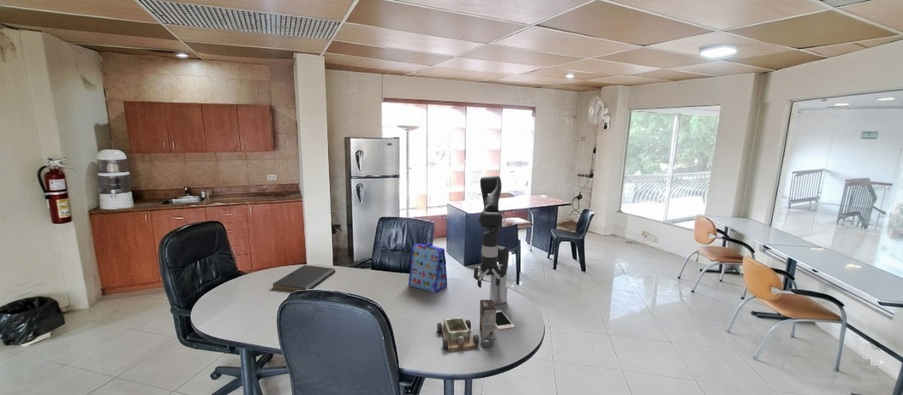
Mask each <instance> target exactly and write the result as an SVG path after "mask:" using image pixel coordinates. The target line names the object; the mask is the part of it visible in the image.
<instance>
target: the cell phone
mask: <svg viewBox="0 0 903 395" xmlns="http://www.w3.org/2000/svg"><path fill="white" fill-rule="evenodd" d="M495 328H497V330H500V331H501V330H507V329H509V330H510V329H514V328H516V327H515V325H514V324H513V322H512V321H511V320H510V318H508V317H507V315H506V314H505V313H504V312H503V311H502V310H501V309H500V310H496V324H495Z"/></svg>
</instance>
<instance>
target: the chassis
mask: <svg viewBox="0 0 903 395" xmlns="http://www.w3.org/2000/svg"><path fill="white" fill-rule="evenodd" d="M436 326H437V327H436V330H437V333H441V335H442V348H443V349H444V350H445V349H447V351H448V352H452V351H453V352H455V351H462V350H471V349H472V350H473V349H476V348H477V346H478V345H480V339H479V338H480V337H479V335H478V334H473V336H472V334H471V330H470V329H471V328H472V324H471V320H470V319H466V320H465V318H464V317H453V318H444V319H443V324H442V322H437V325H436Z"/></svg>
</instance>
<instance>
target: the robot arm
mask: <svg viewBox="0 0 903 395" xmlns="http://www.w3.org/2000/svg"><path fill="white" fill-rule="evenodd" d="M479 186H480V190H481V197H482V202H483V210H482V211H481V212H480V215H479V218H478V223H479V226H481V227H482V228H486V231H484V232H483V233H482V246H481V260H480V263H481V264H480V266H478V265H474V269H473V278H474V279H475V280H477V283H476V284H477V287H479V289H481V288H482V279H483V278H484V277H485V276H490V280H489V300H493V302H494V305H503V304H505V303H507V300H508V286H507V274H508V273H507V272H508V269H509V258H510V252H509V249H508V247H505V246H501V245H498V240H499V239H498V237H499V234H500V232H501V230H502V228H503V216H502V212H501V211H500V210H499V204H500V202H499V201H500V197H501V193H502V178H501V177H500V176H499V175H490V176H482V177H481V178H480V181H479Z"/></svg>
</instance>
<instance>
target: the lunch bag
mask: <svg viewBox="0 0 903 395" xmlns="http://www.w3.org/2000/svg"><path fill="white" fill-rule="evenodd" d="M412 245H413V246H412V250H411V257H410V266H409V276H408V285H409V286H411V287H414V288H418V289H420V290H424V291H427V292H430V293H433V294H437V293H438V292H439V291H441V290H442V289H445V288H447V287H448V276H447V259H446V254H445V248H442V247H438V246H435V245H432V242H427V243H426V244H423V243H414V244H412Z"/></svg>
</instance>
